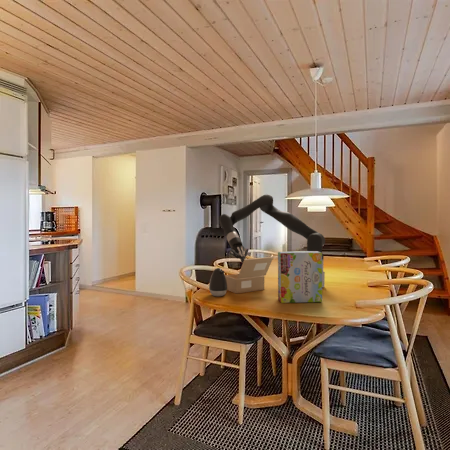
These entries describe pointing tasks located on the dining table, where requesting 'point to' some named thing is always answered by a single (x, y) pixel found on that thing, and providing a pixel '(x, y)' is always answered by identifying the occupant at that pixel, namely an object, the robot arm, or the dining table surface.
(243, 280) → the mailer box
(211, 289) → the dark grey egg shape
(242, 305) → the dining table surface
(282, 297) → the snack box
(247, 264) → the lid
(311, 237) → the robot arm
